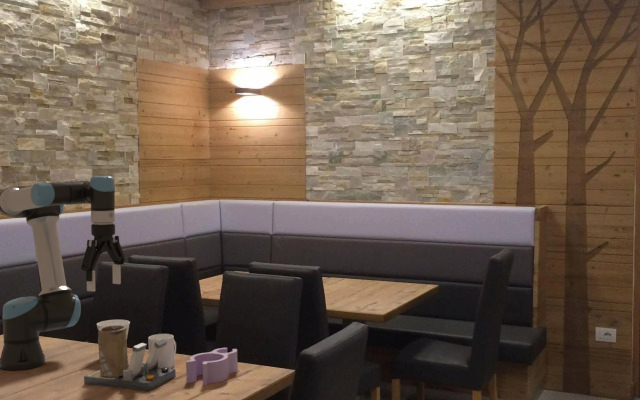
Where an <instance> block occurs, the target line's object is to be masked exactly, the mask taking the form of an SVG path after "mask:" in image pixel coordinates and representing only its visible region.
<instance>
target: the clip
mask: <svg viewBox="0 0 640 400" xmlns="http://www.w3.org/2000/svg"><path fill="white" fill-rule="evenodd" d="M238 365H239V364H238V349H237V348H232V350H231V351H230V352H228V347H221V348H215V349H213V350H212V351H209V352H201V353H196V354H193V355H191V356H190V357H189V360H186V361H185V369H186V372H185V375H186V383H194V382H197V381H198V380H197V377H198V376H201V375H202V385H203V386H207V385H208V384H214V383H215V384H216V383H219V382H223V381H226V380H227V379H229V376H230V375H231V374H234V373H237V372H238Z"/></svg>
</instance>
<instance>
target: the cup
mask: <svg viewBox="0 0 640 400" xmlns="http://www.w3.org/2000/svg"><path fill="white" fill-rule="evenodd" d="M130 324H131V321H129V320H128V319H127V320H126V319H109V320H108V319H107V320H102V321H100V322H97V323H96V327H97V331H98V330H99V329H100V328H102V327H106V326H112V325H123V326H126V327H127V329H126V340H127V339H128V335H129V334H128V333H129V328H130Z"/></svg>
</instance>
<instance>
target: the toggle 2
mask: <svg viewBox="0 0 640 400" xmlns="http://www.w3.org/2000/svg"><path fill="white" fill-rule="evenodd" d="M166 343H167V341H166V340H164V339H162V340H160V341H158V342H155V344H154V346H153V348H152V350H151V352H150V354H149V353H148V356H147V358H146V360H145V362H144V363H148V365H149V369H151V368H153V367H155V366H156V363H157V361H158V359H159V357H160V355H161V353H162V351H163V349H164V347H165V345H166Z"/></svg>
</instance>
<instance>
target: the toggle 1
mask: <svg viewBox="0 0 640 400" xmlns="http://www.w3.org/2000/svg"><path fill="white" fill-rule="evenodd" d="M146 349H147V343H144V342H141V343H138V344H136V345H134V346H133V347H132V352H131V356H130V361H129V363H128V365H129V369H128V370H130V371H133V377H135V376H137V375H139V374H140V373H141V367H142V363H144V359H145V358H144V357H145V353H146Z"/></svg>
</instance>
